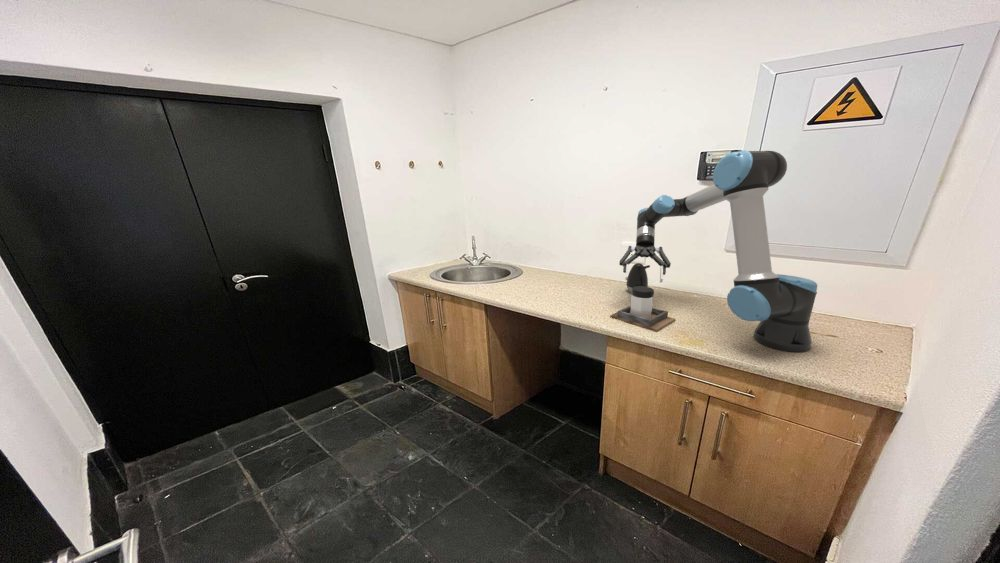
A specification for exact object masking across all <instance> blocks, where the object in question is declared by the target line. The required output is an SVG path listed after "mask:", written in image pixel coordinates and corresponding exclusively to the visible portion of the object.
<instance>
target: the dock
mask: <svg viewBox="0 0 1000 563" xmlns="http://www.w3.org/2000/svg"><path fill="white" fill-rule="evenodd" d="M630 309H631V304H630V305H627V306H626V307H624V308H622V309H619V310H618V311H616V312H613V313H612V314H610V318H611V317H612V318H611V319H614V318H615V319H614V320H617V319H618V321H620V320H621V321H622V322H623V321H624V323H627V324H630V325H633V326H636V327H640V328H643V329H645V330H649V331H652V332H655V333H657V332H659V331H661V330H663V329H665V328H667V327H668V326H670V325H672V324H673V323H675V322H676V318H673V317H669V316H668V315H669V311H667V310H664V309H659V308H657V307H653V306H652V312H651V319H646V318H643V317H640V316H636V315H633V314H630Z"/></svg>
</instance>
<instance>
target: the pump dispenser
mask: <svg viewBox="0 0 1000 563" xmlns="http://www.w3.org/2000/svg"><path fill="white" fill-rule="evenodd" d="M650 267H651V265H650V264H649V265H644V264H643V263H640V262H637V263H635V264H633V265H632V266H631V268H630V269H629V270H630V271H628V278H627V280H626V284H625V285H626V287H627V290H628V291H629V292H630V293H632V288H633V287H636V286H645V287H649V277H648V273H647V270H646V269H649V268H650Z"/></svg>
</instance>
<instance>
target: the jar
mask: <svg viewBox="0 0 1000 563" xmlns="http://www.w3.org/2000/svg"><path fill="white" fill-rule="evenodd" d="M654 294H655V289H654V288H653V287H649V286H648V287H645V286H636V287H633V288H632V292H631V296H630V298H631V299H630V305H631V309H630V314H633V315H636V316H640V317H643V318H646V319H651V312H652V307H653V306H654V304H653V301H654Z"/></svg>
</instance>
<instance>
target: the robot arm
mask: <svg viewBox="0 0 1000 563" xmlns="http://www.w3.org/2000/svg"><path fill="white" fill-rule="evenodd" d="M787 169H788V164H787V160H786V158H785V156H783V155H782V154H781V153H779V152H777V151H774V150H740V151H732V152H729V153H727V154H726V155H724V156H723V157H722V158H720V160H719V161H718V163H717V165H715V168H714V170H713V173H712V182H713V184H711V185H710V186H706V187H705V188H703V189H700V190H698V191H696V192H693V193H691V194H690V195H687V196H685V197H683V198H677V199H676V198H674V199H673V197H672V196H669V195H667V194H662V195H660V196H659V197H657V198H656V199H654V201H653V202H652V203H651V204H650V205H649V207H644V208H641V209H640V210H639V211H638V212H637V219H636V221H637V222H636V240H635V247H634V246H632V245H629V246H628V248H627V251H626V252H625V253H624V254H623V256H622V257H621V259H620V260H619V266H621V267H623V269H622V270H623V271H622V272H623V273H625V281H627V278H628V274H629V265H630V264H631V263H632V262H633V261H635V260H636V259H638V258H639V257H640V258H651V260H654V262H655V263H656V264H657V265H658V266H660V270H659V271H660V272H659V283H663V280H664V276H665V275H666V273H667V271H666V270H667V268H668V269H670V268H671V265H672V262H670V260H669V258H668V257H667V256H666V253H665V251H664V250H663V247H662V246H659V247H655V234H656V232H655V231H656V230H655V229H656V224H657V223H659V222H660V221H661V220H662V219H663V218H670V217H672V218H673V217H690V216H693V215H696V214H697V213H698V212H699V211H700V210H704V209H706V208H708V207H712V206H714V205H716V204H719V203H722V202H724V201H727V202H728V203H729V204H730V212H731V213H730V214H731V222H732V223H731V224H732V230H733V239H734V247H735V248H734V249H735V256H736V265H737V271H738V273H737V276H736V277H734V278H733V287H732V288H731V289H730V290H729V292H728V293H727V297H726V301H727V305H728V307H729V309H730V311H731V312H732V314H734V315H736V317H737V318H739V319H741V320H743V321H747V322H756V321H757V322H759V323H758V324H757V326H756V327H755V329H754V331H753V339H754V340H755V341H757V343H759V344H762V345H763V346H766V347H769V348H772V349H775V350H779V351H785V352H792V353H803V352H807V351H809V350H811V347H812V336H811V331H810V328H809V325H810V320H811V316H812V314H813V313H812V312H813V308H814V304H815V301H816V300H815V299H816V296H817V294H818V292H817V291H818V283H817V282H816V281H815V280H812V279H809V278H805V277H801V276H800V277H799V276H796V275H787V274H779V273H777V274H776V273H774V271H773V269H772V261H771V252H770V251H771V250H770V245H769V244H770V242H769V236H768V235H769V234H768V226H767V218H766V210H765V202H764V195H765V194H766V193H767V192H768V190H769V188H770V187H772V186H775V185H777V183H779V182H780V181H782V180H783V178H784V176H785V175H786V172H787ZM633 252H634V253H633ZM655 252H656V253H657V254H659V256H658V255H657V254H656V253H655ZM631 253H633V254H632V255H631ZM629 256H630V257H629ZM628 257H629V258H628Z"/></svg>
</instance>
